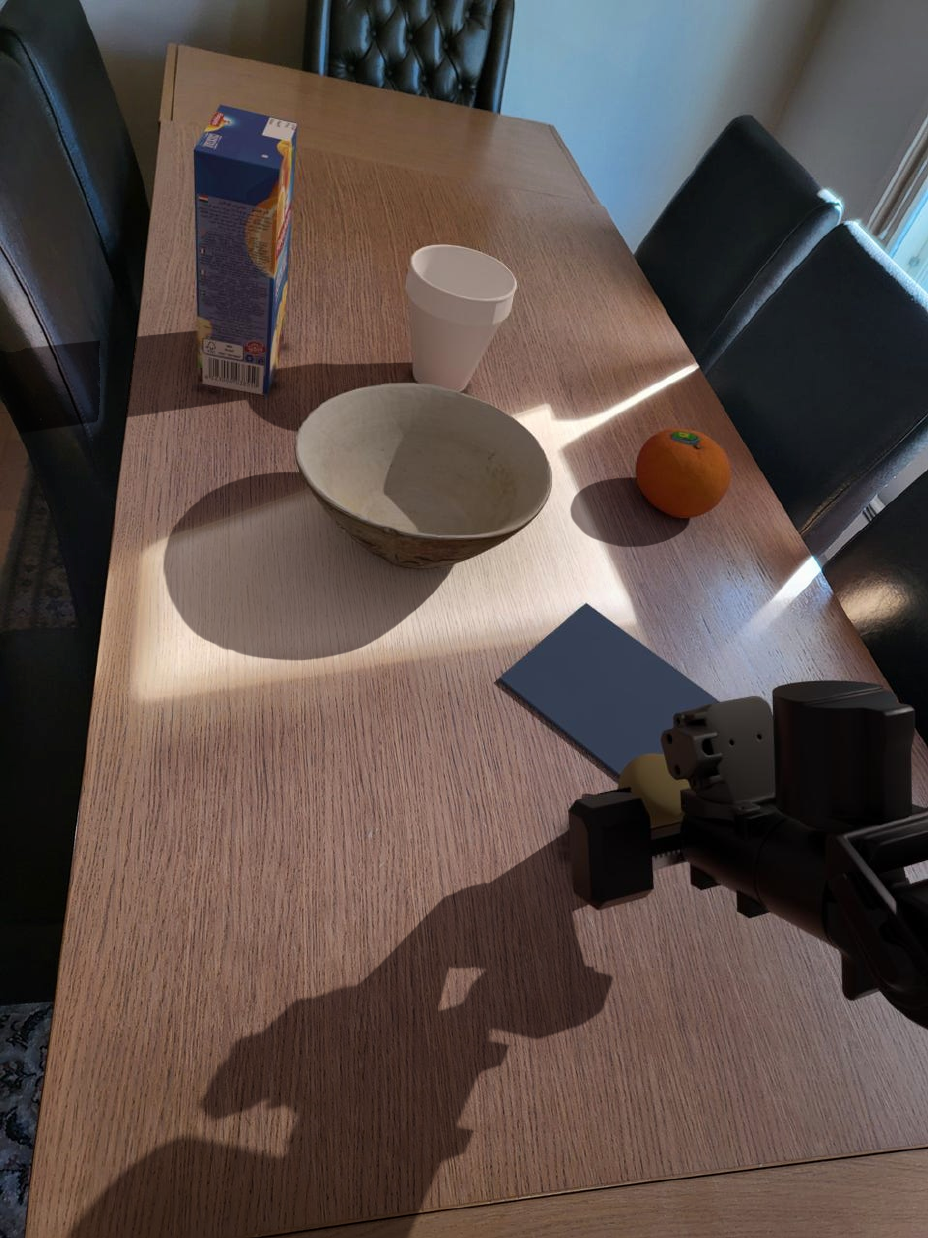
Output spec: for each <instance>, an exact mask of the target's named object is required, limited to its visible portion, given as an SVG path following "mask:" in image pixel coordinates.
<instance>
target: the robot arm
mask: <svg viewBox="0 0 928 1238" xmlns="http://www.w3.org/2000/svg"><path fill="white" fill-rule="evenodd" d="M771 695H772V697H771V698H772V699H771V700H772V708H771V706H770V703H768V701H767V700H766V699H765V698H763V697H762V696H759V695H749V696H744V697H740V698H739V697H738V698H734V699H728V700H723V701H720V702H716V703H712V704H709V705H706V706H702V707H699V708H695V709H692V710H689V711H685V712H681V713H676V714H675V715H674V717H673V722H674V726H673V728H672V729H668V730H664V731H663V733H662V736H661V744H662V748H663V752H664V756H665V760H666V764H667V768H668V772H669V774H670V775H671V776H672V777H673V778H674V779H675V780H682V779H686V780H687V781H688V782H689V785H690V787H691V788H687V789H683V790H680V799H681V810H682V811H683V812H685V814H684V816H683V819H682V821H679V822H675V823H671V824H667V825H663V826H658V827H654V828H651V821H650V815H649V813H648V811H647V809H646V807H645V805H644V803H643V801H642V800H641V798H640V797H638V796H636V795H634V794H632V793H631V787H626V788H621V789H618V788H616V789H613V790H607V791H604V792H599V793H596V794H592V793H588V792H587V793H582V794H581V798H578V799H575V800H574V801H573V803H572V804H571V806H570V807H569V809H568V810H567V815H568V816H567V818H568V830H569V850H570V865H571V882H572V893H573V894H575V895H576V896H577V897H578V898H580V899H581V900H582V901H584V902H585V903H587V905H590V907H592V908H593V909H594V910H596V911H602V910H605V909H609V908H613V907H616V906H620V905H624V904H628V903H631V902H634V901H639V900H642V899H645V898H647V897H648V896H649V895H650V894H651V892H653V891H654V889H655V884H654V883H655V882H654V871H658V870H662V869H665V868H670V867H672V866H677V865H680V864H684V863H689V872H690V875H689V876H690V885H691V886H693V887H695V888H696V889H698V890H700V891H704V890H708V889H712V888H715V887H718V886H719V887H720V886H723V887H725V888H726V889H728V890H730V891H731V892H733V893H735V896H736V898H735V899H736V912H737V913H738V914H740V915H743V916H744V917H746V918H747V919H749V920H750V919H752V918H757V917H759V916H762V915H766V914H770V913H771V914H772V915H775V916H776V917H778V918H780V919H782V920H784V921H785V922H787V923H789V924H791V925H792V926H794V927H796V928H798V929H800V930H802V931H804V932H805V933H807V934H809V935H811V936H812V937H814V938H816V939H818V940H819V941H821V942H823V943H825V944H827V945H829V946H830V947H831V948H834V949H836V950H837V951H838V952H839V955H840V964H841V967H840V968H841V992H842V995H843V996H844V998H845V999H846V1000H847V1001H850V1002H855V1001H857V1000H860V999H862V998H866V997H868V996H871V995H873V994H876V993H879V992H880V993H881V995H882V996H883V997H884V999H886V1001H887V1002H888V1003H889V1004H890V1005H891V1006H893V1008H895V1009H896V1010H897V1011H898V1012H899V1013H900V1014H901V1015H902V1016H904V1018H906V1019H907V1020H909V1021H910V1022H912V1023H913V1024H915V1025H916V1026H919V1027H921V1028H923V1029H924V1030H927V1031H928V877H927V878H925V879H920V880H917V881H914V882H910V879H909V878H908V877H907V875H906V871H905V868H906V867H910V866H913V865H917V864H920V863H923V862H927V861H928V806H927V807H925V806H920V805H917V804H914V803H913V778H912V777H913V774H912V773H913V771H912V770H913V769H912V764H913V763H912V752H913V751H912V749H913V743H914V740H915V734H916V733H915V732H916V711H915V709H914V707H913V706H912V705H911V704H905V703H901V702H898V696H897V694H896V693H894V692H893V691H890V690H887V689H885V688H884V685H883V684H880V683H879V684H878V683H875V682H874V683H873V682H867V681H866V682H865V681H856V680H837V679H832V680H831V679H830V680H829V679H828V680H827V679H826V680H825V679H824V680H821V679H820V680H819V679H818V680H806V681H797V682H796V681H795V682H788V683H785V684H781V685H778V686H776V687H774V688H773V689H772V691H771Z"/></svg>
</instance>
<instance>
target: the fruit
mask: <svg viewBox="0 0 928 1238" xmlns="http://www.w3.org/2000/svg"><path fill="white" fill-rule="evenodd" d="M731 476H732V473H731V466H730V462H729V458H728V457H727V454H726V452H725V451H724V449H723V448H722V447H721V446H720V445H719V443H717V442H716V441H714V440H713V439H711V438H710V437H709V436H707V435H705V434H703V433H702V432H699V431H696V430H692V429H691V430H690V429H681V428H668V429H664V430H661V431H659V432H657V433H655V434H653V435H652V436H650V437H649V438H648V439H647V440H646V441H645V442H644V443H643V445H642V446H641V447H640V450H639V452H638V454H637V458H636V463H635V478H636V483H637V486H638V489H639V490H640V492H641V493H642V495H643V496H644V497H645V498H646V500H647V501H648V502H649V503H650V504H651V505H653V506H654V507H655V508H657V509H658V510H660V511H662V512H663V513H665V514H667V515H669V516H671V517H673V518H678V519H679V518H680V519H689V518H696V517H700V516H702V515H704V514H706V513H708V512H710V511H711V510H713V509H714V508H716V507H717V506H718V505H719V504H720V503H721V501H722V500H723V499H724V497H725V496H726V494H727V492H728V489H729V486H730V482H731Z"/></svg>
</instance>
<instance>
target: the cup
mask: <svg viewBox="0 0 928 1238" xmlns="http://www.w3.org/2000/svg"><path fill="white" fill-rule="evenodd" d="M517 288H518V283H517V278H516V276H514V274H513V272H512V271H511V270H510V269H509V268H508V267H507V265H505V264H504V263H502V262H501V261H500V260H498V259H496V258H495V257H492V256H490V255H488V254H486V253H485V252H483V251H482V252H481V251H478V250H477V249H476V250H475V249H473V248H470V247H466V246H465V247H464V246H460V245H453V244H430V245H427V246H421V248H418V249H417V250H416V251H414V252H413V253H412V255H410V258H409V268H408V270H407V275H406V278H405V285H404V290H405V292H406V294H407V298H408V311H409V312H408V313H409V314H408V316H409V328H410V329H409V330H410V347H411V350H410V351H411V363H412V364H411V365H412V366H411V367H412V376H413V379H414V380H415V381H416V383H424V384H431V385H435V386H440V387H444V388H447V389H451V390H455V391H458V392H461V393H462V392H463V391H464V390H465V389H466V387H467V386H468V384H469V382H470V380H471V379H472V377H473V375H474V373H475V372H476V369H477V368H478V367H479V365H480V362H481V360H482V358H483V356H484V355H485V353H486V352H487V350H488V348H489V346H490V344H491V343H492V341H493V339H494V337H495V335H496V333H497V331H498V329H499V328H500V326H501V324H502V322H503V321H505V320H506V319H507V318H508V317H509V316H510V313H511V311H512V307H513V301H514V298H515V292H516V291H517Z"/></svg>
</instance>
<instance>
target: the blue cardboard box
mask: <svg viewBox="0 0 928 1238" xmlns="http://www.w3.org/2000/svg"><path fill="white" fill-rule="evenodd" d="M204 129H205V130H204V131H203V133H202V134H201V136H200V137H199V139H198V141H197V143H196V145H195V146H194V148H193V150H192V151H193V177H194V178H193V181H194V185H193V187H194V227H195V269H196V270H195V274H196V275H195V276H196V282H195V283H196V319H197V320H196V321H197V322H196V323H197V326H196V327H197V361H198V362H197V367H198V369H197V371H198V384H203V385H208V386H213V387H219V388H223V389H228V390H229V389H230V390H234V391H235V390H236V391H241V392H246V393H249V394H250V393H251V394H257V395H260V396H261V395H263V396H269V393H270V390H271V386H272V383H273V380H274V376H275V372H276V369H277V365H278V361H279V358H280V354H281V352H282V347H283V344H284V340H285V327H286V326H285V325H286V312H287V311H286V309H287V293H288V279H289V278H288V276H289V264H290V263H289V262H290V247H291V230H292V217H293V216H292V215H293V200H294V199H293V198H294V182H295V170H296V169H295V167H296V154H297V153H296V152H297V138H298V135H297V134H298V122H296V121H295V122H294V121H290V120H288V119H287V120H286V119H282V118H278V117H274V116H270V115H265V114H261V113H257V112H253V111H249V110H244V109H241V108H236V107H232V106H228V105H224V104H219V106H218V107H217V109H216V111H215V112H214V114H213V116H212V118H211V120H210V121H209V123H208V124H207V126H206V128H204Z"/></svg>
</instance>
